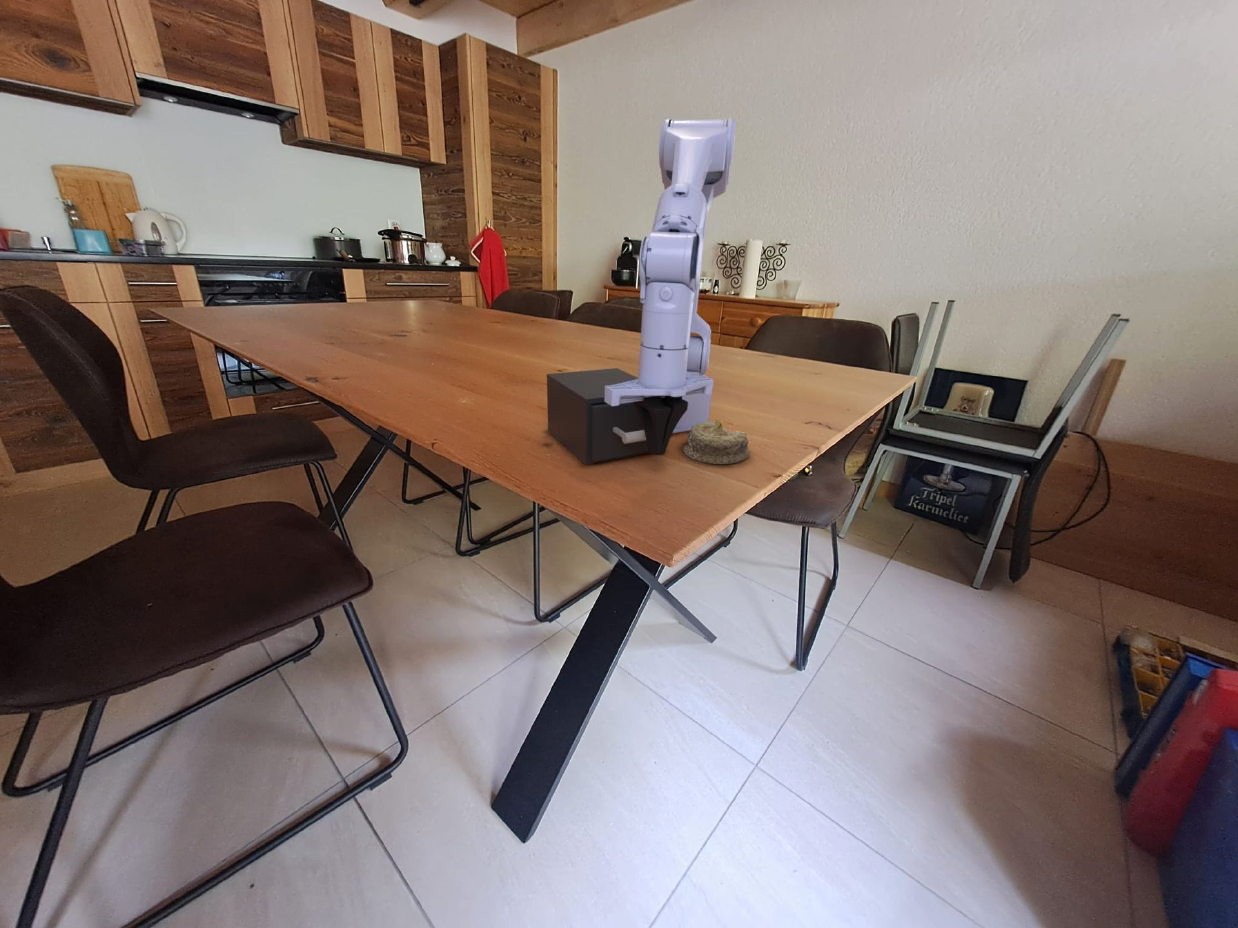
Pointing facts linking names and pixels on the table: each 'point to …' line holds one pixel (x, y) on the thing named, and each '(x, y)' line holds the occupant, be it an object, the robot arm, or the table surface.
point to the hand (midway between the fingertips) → (656, 452)
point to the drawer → (615, 431)
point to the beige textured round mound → (716, 444)
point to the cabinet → (579, 406)
